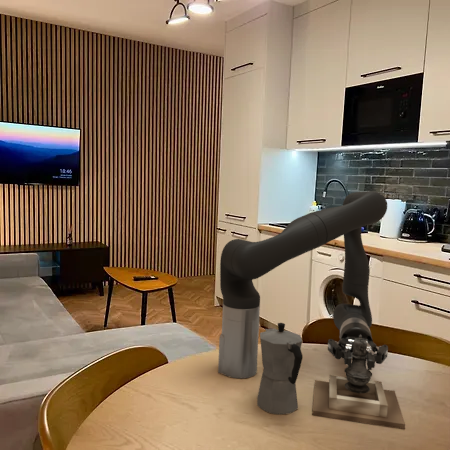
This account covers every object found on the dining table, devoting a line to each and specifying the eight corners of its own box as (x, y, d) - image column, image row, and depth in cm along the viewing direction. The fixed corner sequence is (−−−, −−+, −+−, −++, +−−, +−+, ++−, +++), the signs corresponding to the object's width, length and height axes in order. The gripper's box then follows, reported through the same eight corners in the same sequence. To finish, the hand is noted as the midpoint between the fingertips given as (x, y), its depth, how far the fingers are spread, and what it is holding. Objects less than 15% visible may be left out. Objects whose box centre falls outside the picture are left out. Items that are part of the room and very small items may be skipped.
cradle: (312, 415, 92) (313, 398, 92) (314, 384, 107) (315, 370, 107) (404, 429, 88) (406, 412, 88) (394, 395, 103) (395, 380, 103)
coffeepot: (245, 392, 101) (249, 315, 99) (283, 388, 104) (287, 312, 103) (275, 428, 87) (279, 338, 85) (317, 422, 90) (322, 335, 88)
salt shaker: (344, 392, 95) (348, 338, 94) (342, 380, 101) (345, 328, 100) (373, 395, 94) (377, 340, 93) (369, 383, 100) (372, 331, 99)
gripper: (327, 319, 112) (326, 343, 95) (386, 324, 109) (396, 351, 92) (325, 347, 113) (324, 376, 96) (384, 354, 109) (394, 385, 93)
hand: (360, 364), depth 94 cm, fingers closed on salt shaker, 3 cm apart
